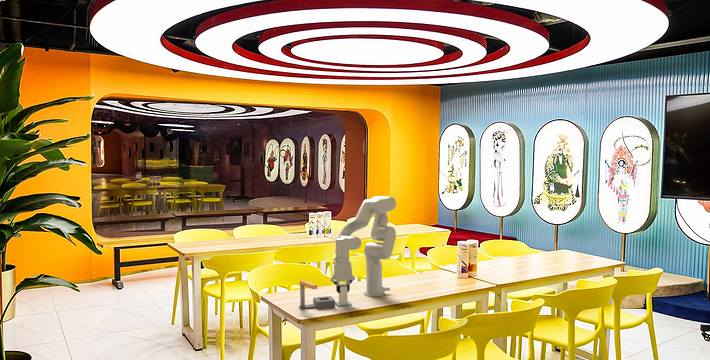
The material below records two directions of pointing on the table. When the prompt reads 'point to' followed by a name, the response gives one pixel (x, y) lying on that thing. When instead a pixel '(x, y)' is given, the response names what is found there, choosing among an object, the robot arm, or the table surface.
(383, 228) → the robot arm
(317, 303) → the socket block
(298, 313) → the table surface
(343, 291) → the plug
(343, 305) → the pad
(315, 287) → the latch bar
